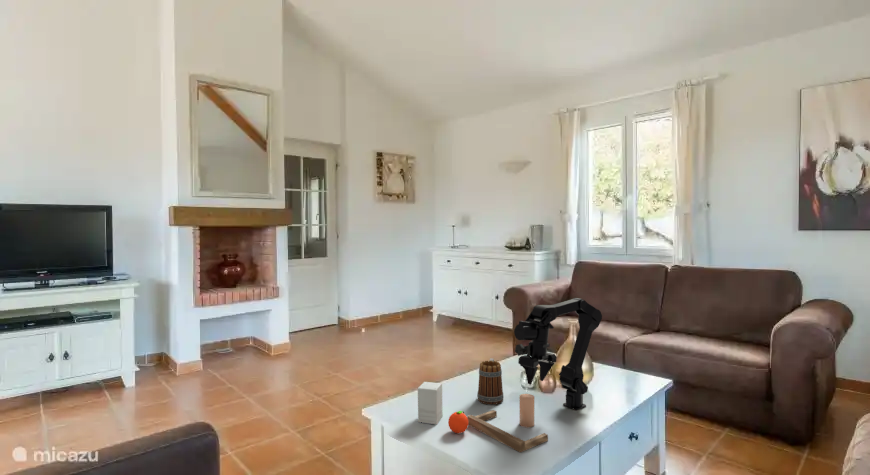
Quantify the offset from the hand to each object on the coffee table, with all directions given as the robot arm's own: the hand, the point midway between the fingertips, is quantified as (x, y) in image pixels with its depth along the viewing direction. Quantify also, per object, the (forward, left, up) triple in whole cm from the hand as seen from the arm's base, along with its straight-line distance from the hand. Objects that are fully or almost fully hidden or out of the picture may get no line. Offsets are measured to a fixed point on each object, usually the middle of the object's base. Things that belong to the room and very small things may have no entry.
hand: (535, 382), depth 172 cm
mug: (0, -23, -13) cm, 27 cm away
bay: (+17, +3, -13) cm, 22 cm away
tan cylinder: (+7, +3, -13) cm, 15 cm away
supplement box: (+32, -21, -13) cm, 41 cm away
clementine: (+30, -7, -13) cm, 34 cm away
